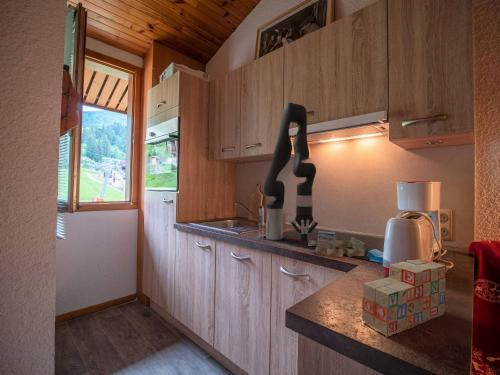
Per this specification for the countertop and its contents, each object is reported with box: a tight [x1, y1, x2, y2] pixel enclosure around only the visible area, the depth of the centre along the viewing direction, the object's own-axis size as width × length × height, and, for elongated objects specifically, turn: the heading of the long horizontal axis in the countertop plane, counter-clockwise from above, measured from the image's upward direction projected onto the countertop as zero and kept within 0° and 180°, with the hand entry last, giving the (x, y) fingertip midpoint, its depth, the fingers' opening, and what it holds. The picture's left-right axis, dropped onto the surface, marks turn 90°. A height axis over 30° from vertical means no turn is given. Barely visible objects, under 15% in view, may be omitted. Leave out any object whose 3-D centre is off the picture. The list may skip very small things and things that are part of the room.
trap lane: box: [307, 236, 366, 258], centre depth 114 cm, size 22×17×5 cm
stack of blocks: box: [361, 258, 447, 334], centre depth 57 cm, size 21×6×12 cm, turn 116°
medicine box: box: [317, 230, 337, 249], centre depth 116 cm, size 8×4×9 cm, turn 62°
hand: (304, 241), depth 115 cm, fingers closed
